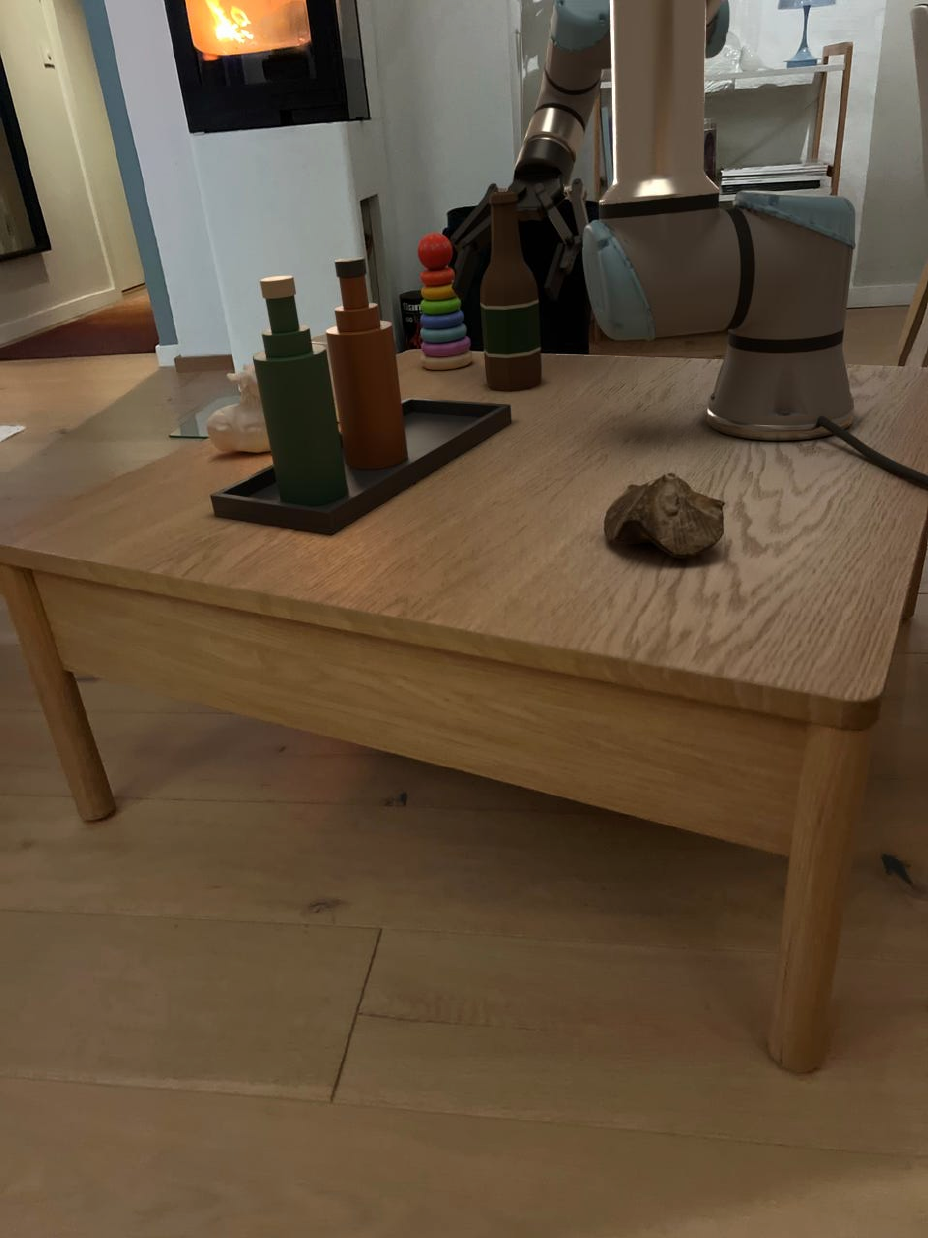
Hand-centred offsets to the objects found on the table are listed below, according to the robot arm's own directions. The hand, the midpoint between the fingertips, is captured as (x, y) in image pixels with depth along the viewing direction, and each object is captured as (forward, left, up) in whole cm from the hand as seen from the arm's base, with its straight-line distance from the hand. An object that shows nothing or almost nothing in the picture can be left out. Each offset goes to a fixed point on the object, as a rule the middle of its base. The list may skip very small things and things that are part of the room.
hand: (502, 294), depth 118 cm
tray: (-16, +28, -12) cm, 35 cm away
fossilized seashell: (-52, +21, -12) cm, 58 cm away
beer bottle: (+1, -1, -12) cm, 12 cm away
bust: (0, +36, -12) cm, 38 cm away
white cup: (+5, +22, -12) cm, 25 cm away
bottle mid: (-16, +28, -11) cm, 34 cm away
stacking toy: (+19, -1, -12) cm, 22 cm away
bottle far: (-21, +38, -11) cm, 45 cm away
